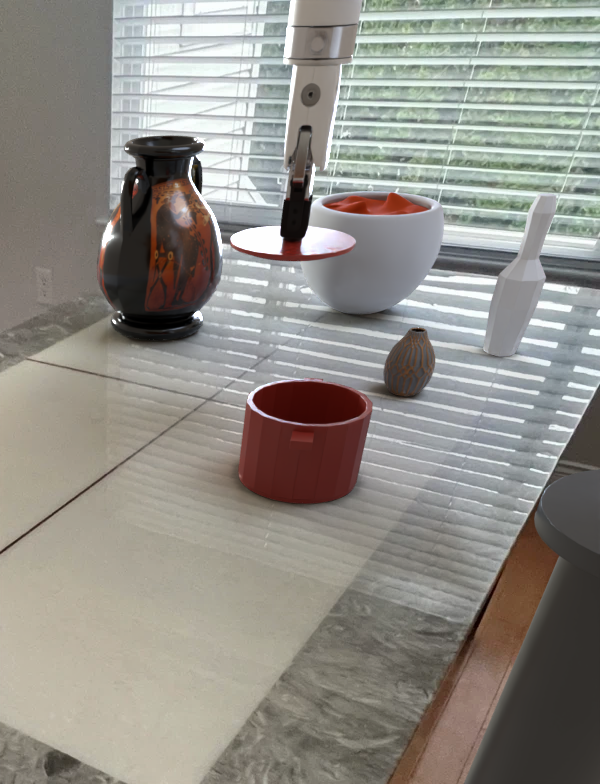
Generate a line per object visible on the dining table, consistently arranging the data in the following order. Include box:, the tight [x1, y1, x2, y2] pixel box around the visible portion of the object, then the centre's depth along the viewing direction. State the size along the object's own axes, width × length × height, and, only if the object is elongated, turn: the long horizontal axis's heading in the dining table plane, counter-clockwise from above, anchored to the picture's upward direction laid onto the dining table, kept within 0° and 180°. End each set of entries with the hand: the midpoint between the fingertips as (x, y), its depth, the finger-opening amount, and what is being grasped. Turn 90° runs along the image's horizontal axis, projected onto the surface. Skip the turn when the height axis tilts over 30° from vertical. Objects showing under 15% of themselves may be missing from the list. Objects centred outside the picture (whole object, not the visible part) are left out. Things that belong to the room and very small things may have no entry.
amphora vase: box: [96, 134, 224, 342], centre depth 141 cm, size 22×22×28 cm
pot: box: [299, 190, 445, 315], centre depth 150 cm, size 24×24×18 cm
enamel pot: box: [237, 377, 374, 505], centre depth 102 cm, size 14×20×10 cm
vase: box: [382, 326, 436, 397], centre depth 122 cm, size 7×7×9 cm
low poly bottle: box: [482, 192, 557, 357], centre depth 129 cm, size 6×6×22 cm
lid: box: [229, 191, 356, 262], centre depth 104 cm, size 15×15×7 cm
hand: (293, 232), depth 105 cm, fingers closed on lid, 2 cm apart
